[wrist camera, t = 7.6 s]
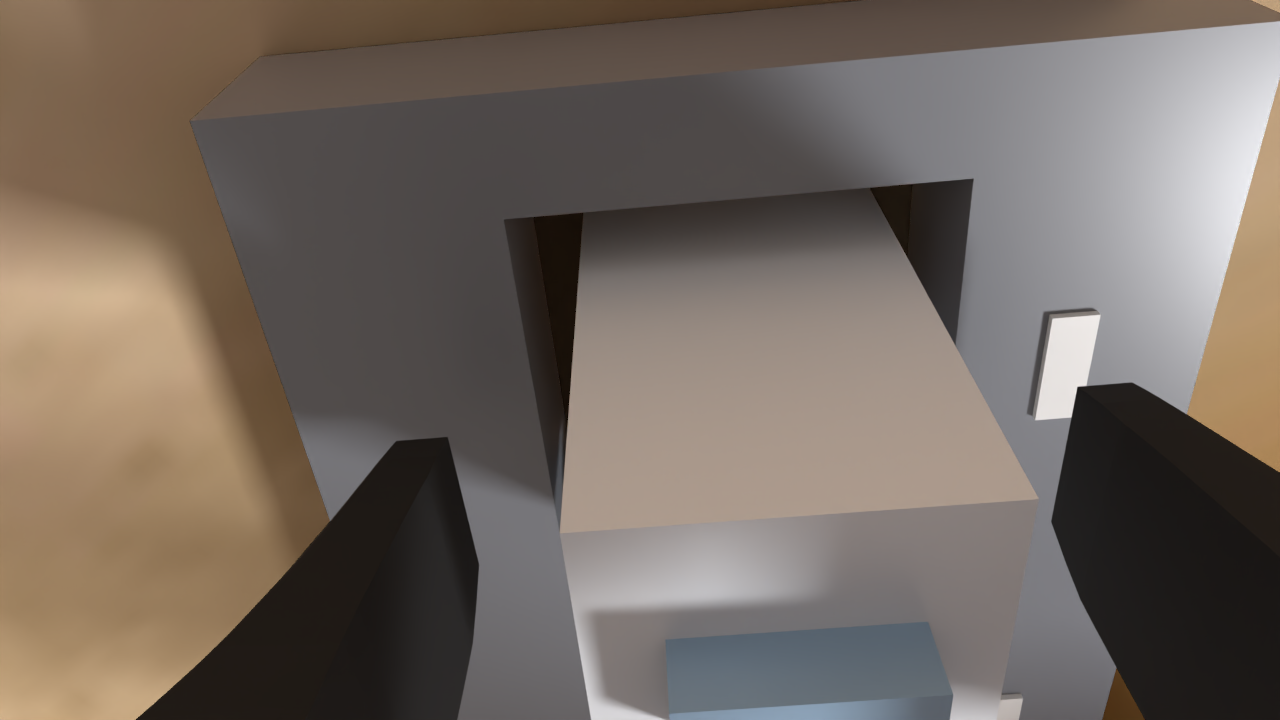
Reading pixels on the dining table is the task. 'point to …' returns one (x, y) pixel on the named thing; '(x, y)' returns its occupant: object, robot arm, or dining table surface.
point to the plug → (781, 474)
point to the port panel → (725, 170)
